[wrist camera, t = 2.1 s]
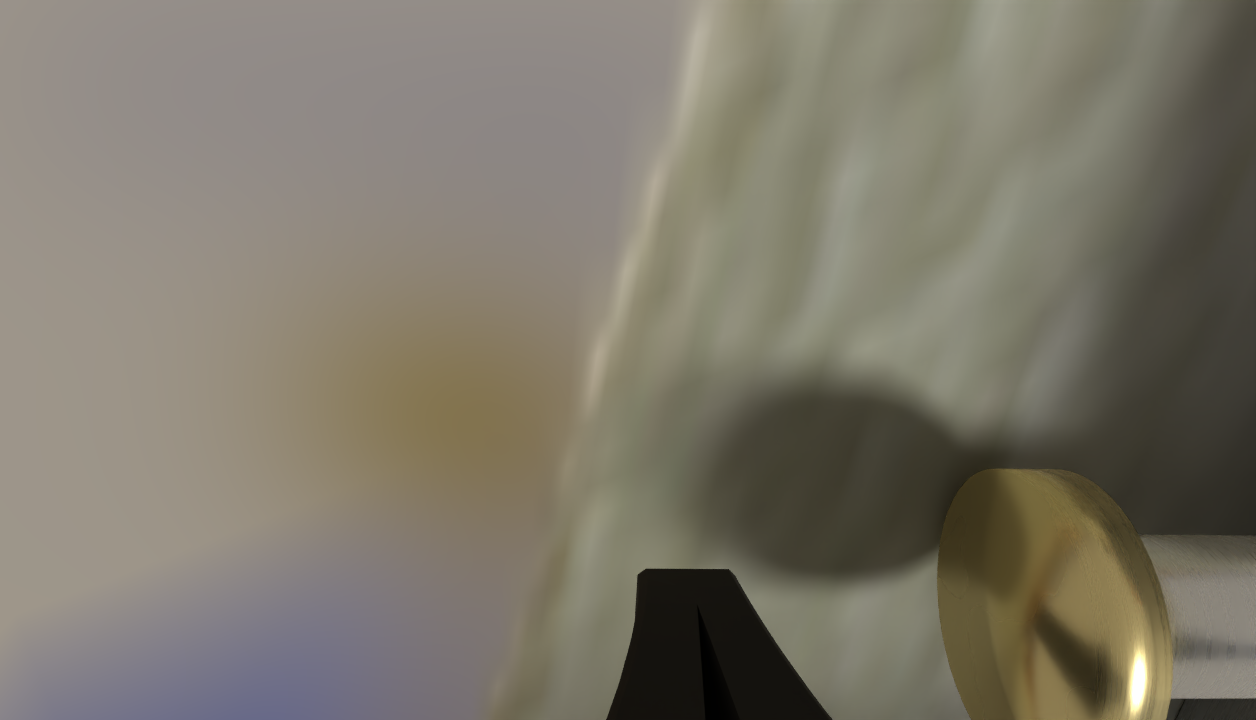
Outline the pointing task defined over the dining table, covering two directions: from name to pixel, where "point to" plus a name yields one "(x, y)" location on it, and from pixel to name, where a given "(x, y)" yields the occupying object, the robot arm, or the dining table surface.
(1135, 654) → the gold headed rod
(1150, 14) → the dining table surface
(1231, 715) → the bracket
